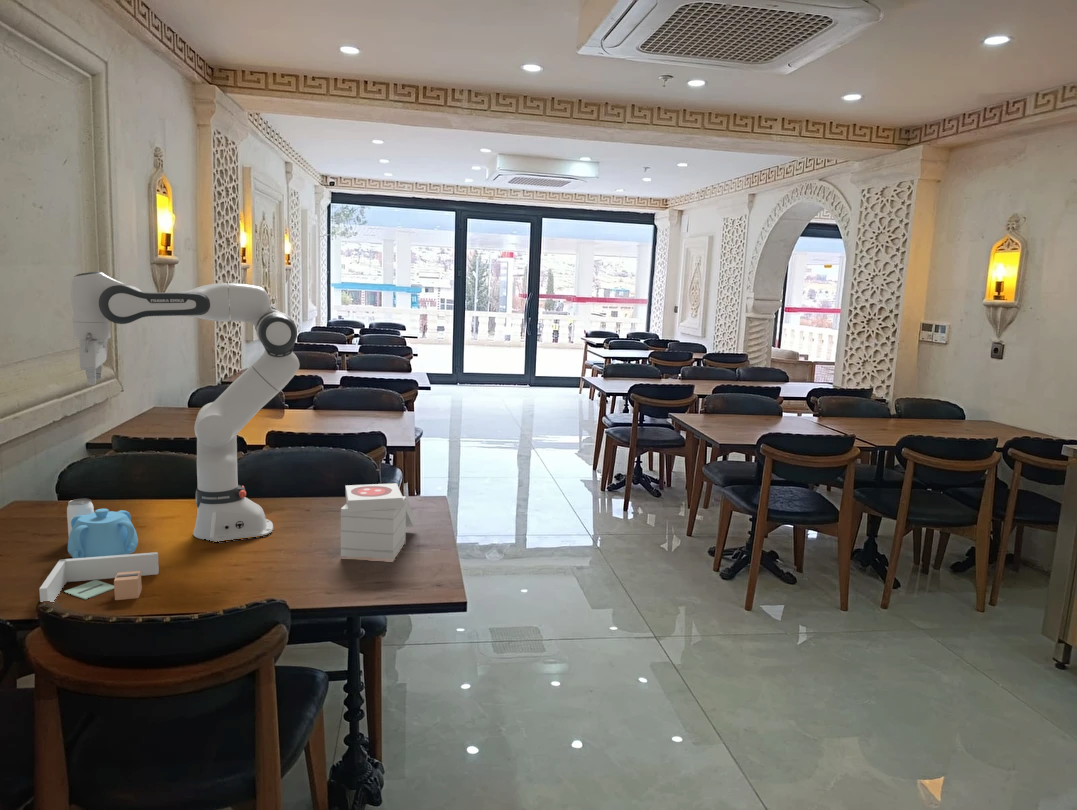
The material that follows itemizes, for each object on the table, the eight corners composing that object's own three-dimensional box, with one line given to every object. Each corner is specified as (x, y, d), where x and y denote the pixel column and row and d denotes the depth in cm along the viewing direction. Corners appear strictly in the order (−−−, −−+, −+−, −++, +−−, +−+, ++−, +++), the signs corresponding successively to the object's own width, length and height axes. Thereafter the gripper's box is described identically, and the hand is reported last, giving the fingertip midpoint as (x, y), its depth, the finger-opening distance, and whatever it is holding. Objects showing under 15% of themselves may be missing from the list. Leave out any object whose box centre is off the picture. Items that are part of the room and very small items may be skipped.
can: (83, 547, 208) (80, 506, 206) (63, 544, 209) (60, 503, 207) (100, 539, 214) (98, 499, 212) (81, 536, 215) (79, 497, 213)
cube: (141, 589, 183) (140, 570, 182) (138, 598, 178) (137, 578, 178) (118, 591, 181) (117, 571, 180) (114, 600, 177) (113, 580, 176)
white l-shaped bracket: (158, 572, 194) (157, 552, 193) (148, 601, 177) (147, 579, 176) (61, 580, 186) (59, 559, 185) (41, 611, 169) (39, 588, 169)
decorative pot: (140, 544, 212) (137, 498, 210) (136, 564, 198) (134, 515, 196) (73, 551, 205) (70, 503, 203) (65, 572, 191) (61, 521, 189)
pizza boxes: (421, 529, 234) (422, 474, 231) (397, 566, 205) (398, 503, 202) (361, 526, 235) (361, 471, 232) (329, 561, 206) (329, 499, 203)
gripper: (99, 335, 193) (102, 387, 196) (110, 329, 212) (113, 376, 214) (71, 335, 191) (74, 388, 193) (84, 328, 209) (88, 377, 212)
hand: (95, 382), depth 204 cm, fingers open, 8 cm apart
